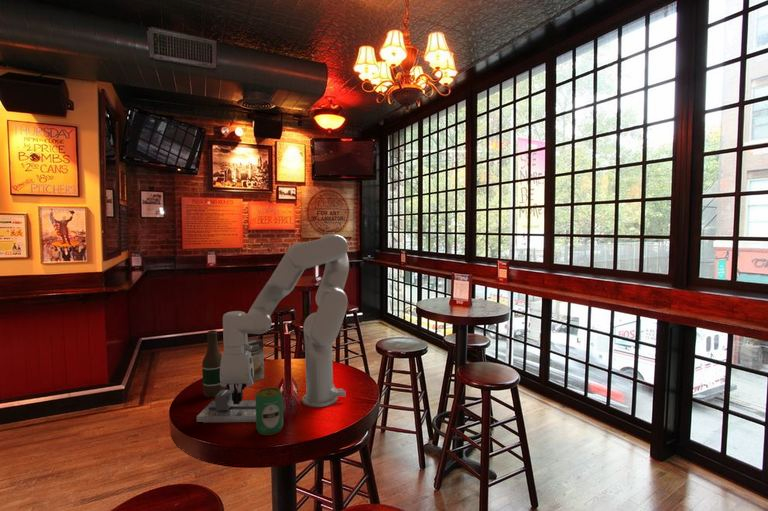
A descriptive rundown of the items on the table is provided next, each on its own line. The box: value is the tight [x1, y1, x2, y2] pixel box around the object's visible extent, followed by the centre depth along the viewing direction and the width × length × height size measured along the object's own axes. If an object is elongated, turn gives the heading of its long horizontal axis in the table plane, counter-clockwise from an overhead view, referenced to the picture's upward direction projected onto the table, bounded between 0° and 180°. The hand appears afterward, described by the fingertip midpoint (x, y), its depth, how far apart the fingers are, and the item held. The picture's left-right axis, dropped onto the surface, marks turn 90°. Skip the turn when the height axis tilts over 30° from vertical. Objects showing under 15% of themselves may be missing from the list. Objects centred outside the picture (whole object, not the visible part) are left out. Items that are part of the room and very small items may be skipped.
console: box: [196, 399, 256, 423], centre depth 137 cm, size 24×12×4 cm, turn 90°
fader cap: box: [214, 389, 233, 410], centre depth 137 cm, size 4×5×5 cm
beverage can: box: [254, 386, 284, 436], centre depth 125 cm, size 8×8×12 cm
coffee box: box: [248, 338, 265, 383], centre depth 167 cm, size 9×6×16 cm
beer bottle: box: [201, 329, 226, 399], centre depth 153 cm, size 8×8×24 cm
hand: (237, 402), depth 137 cm, fingers closed
